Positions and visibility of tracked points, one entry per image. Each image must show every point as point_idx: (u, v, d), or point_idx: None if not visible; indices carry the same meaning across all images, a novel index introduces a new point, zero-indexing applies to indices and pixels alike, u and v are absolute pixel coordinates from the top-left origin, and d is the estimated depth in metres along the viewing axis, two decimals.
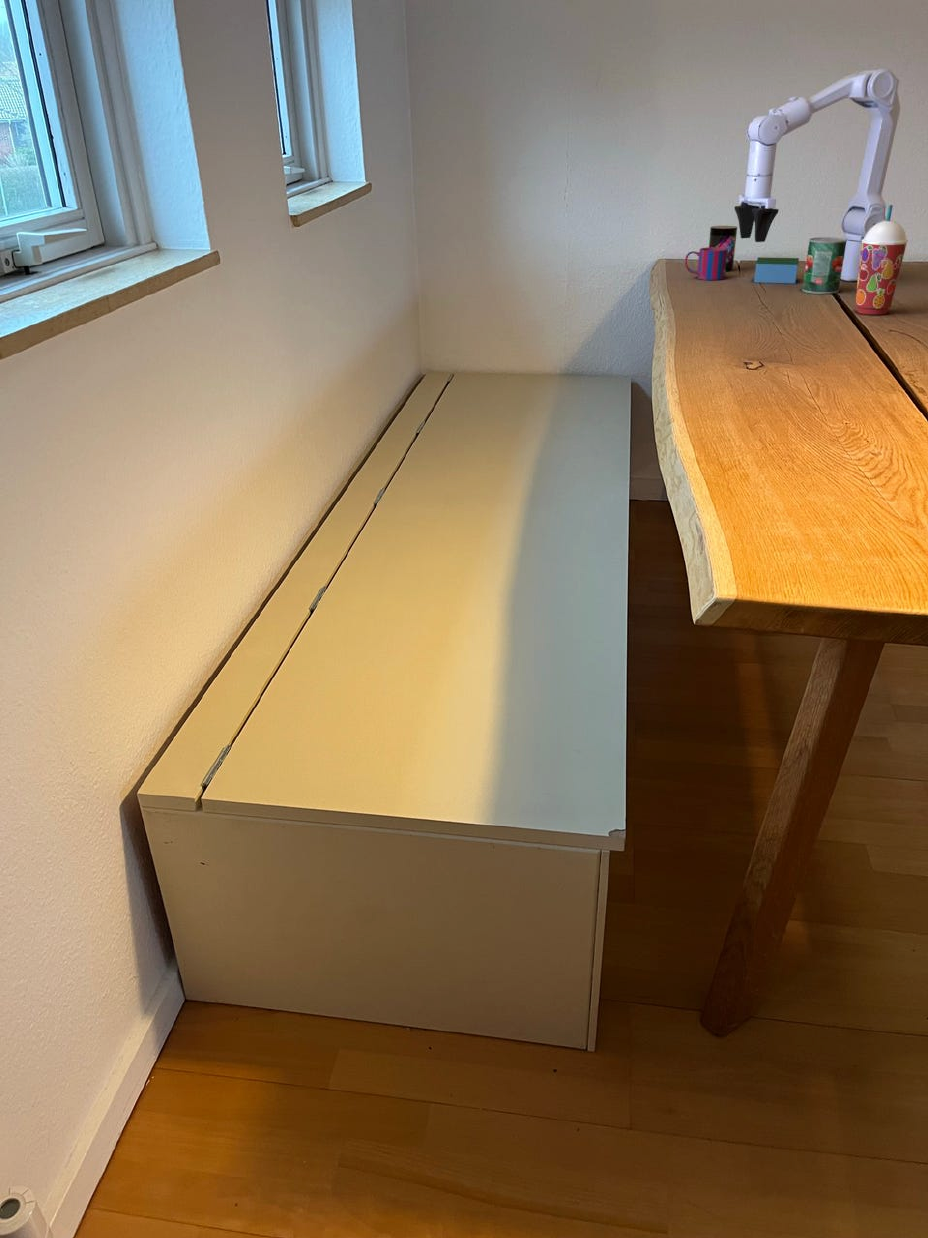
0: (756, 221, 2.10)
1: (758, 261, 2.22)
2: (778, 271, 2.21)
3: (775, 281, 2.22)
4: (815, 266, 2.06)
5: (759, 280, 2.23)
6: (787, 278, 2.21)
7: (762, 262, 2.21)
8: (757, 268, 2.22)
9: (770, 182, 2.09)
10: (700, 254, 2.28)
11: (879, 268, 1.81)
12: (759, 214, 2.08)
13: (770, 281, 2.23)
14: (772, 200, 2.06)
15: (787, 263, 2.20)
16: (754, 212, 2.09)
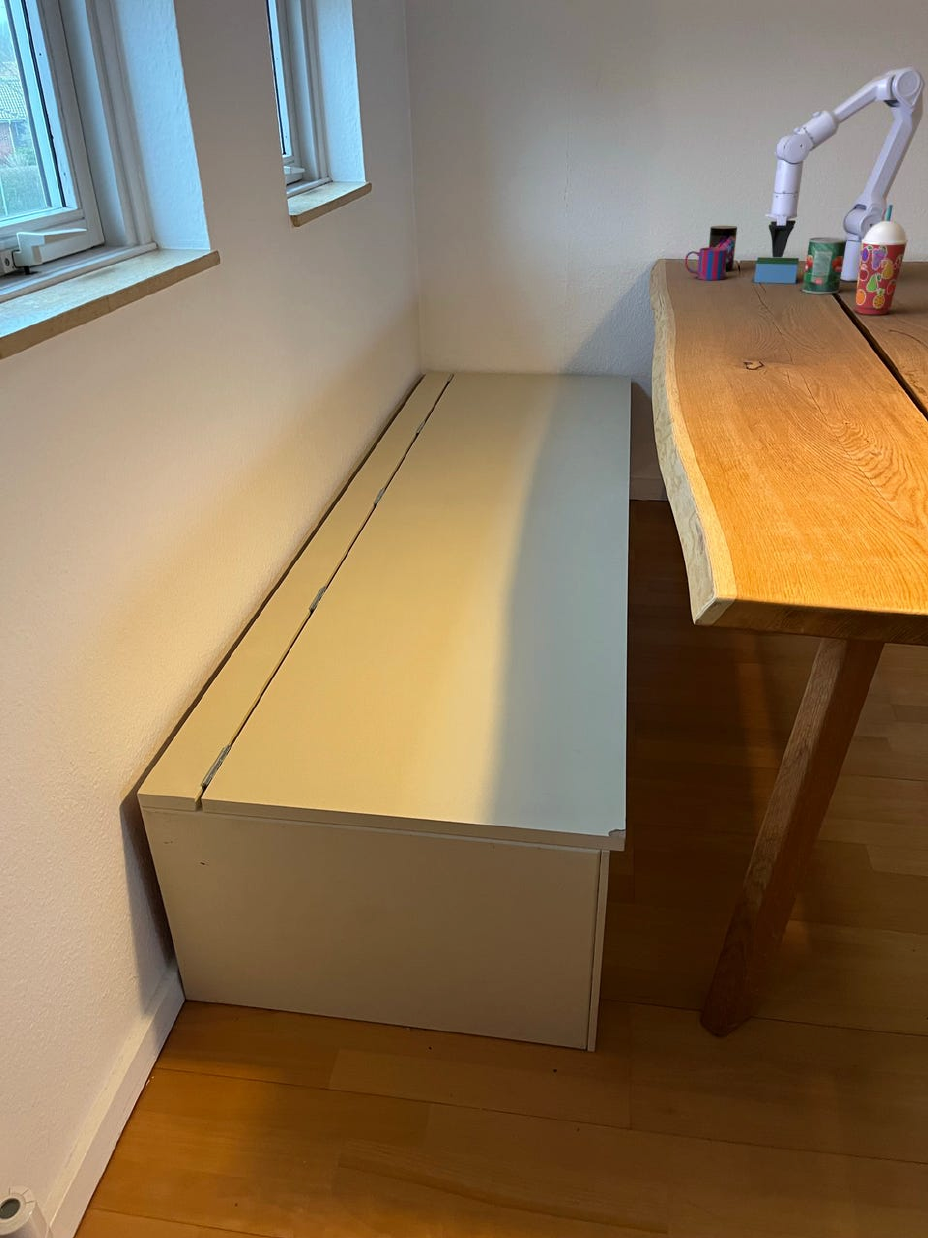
0: None
1: (758, 261, 2.22)
2: (778, 271, 2.21)
3: (775, 281, 2.22)
4: (815, 266, 2.06)
5: (759, 280, 2.23)
6: (787, 278, 2.21)
7: (762, 262, 2.21)
8: (757, 268, 2.22)
9: (792, 200, 2.14)
10: (700, 254, 2.28)
11: (879, 268, 1.81)
12: (772, 230, 2.15)
13: (770, 281, 2.23)
14: (782, 217, 2.12)
15: (787, 263, 2.20)
16: None
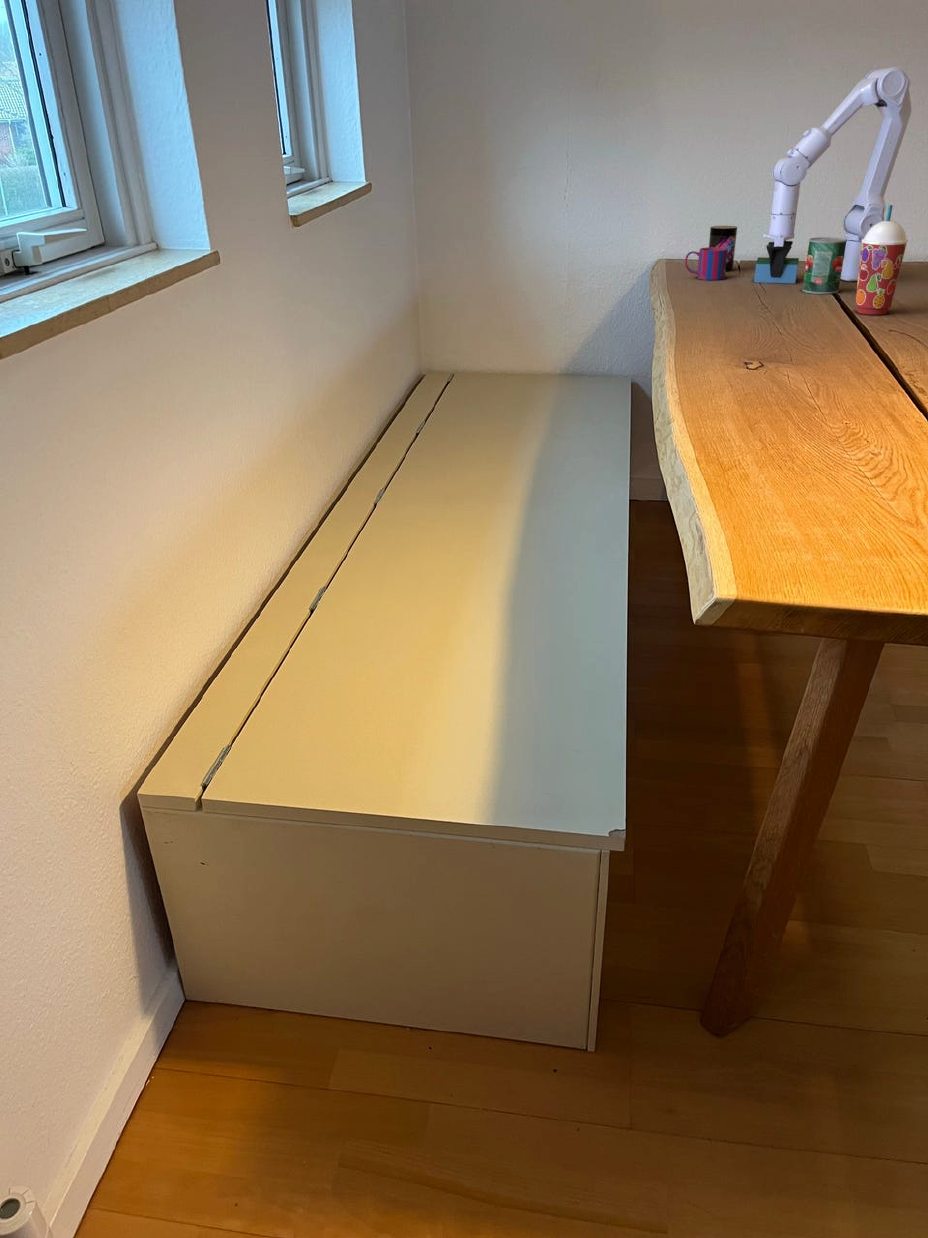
0: (769, 257, 2.20)
1: (758, 261, 2.22)
2: None
3: (775, 281, 2.22)
4: (815, 266, 2.06)
5: (759, 280, 2.23)
6: (787, 278, 2.21)
7: (762, 262, 2.21)
8: (757, 268, 2.22)
9: (789, 221, 2.16)
10: (700, 254, 2.28)
11: (879, 268, 1.81)
12: (770, 251, 2.18)
13: (770, 281, 2.23)
14: (779, 239, 2.14)
15: (787, 263, 2.20)
16: (767, 248, 2.19)
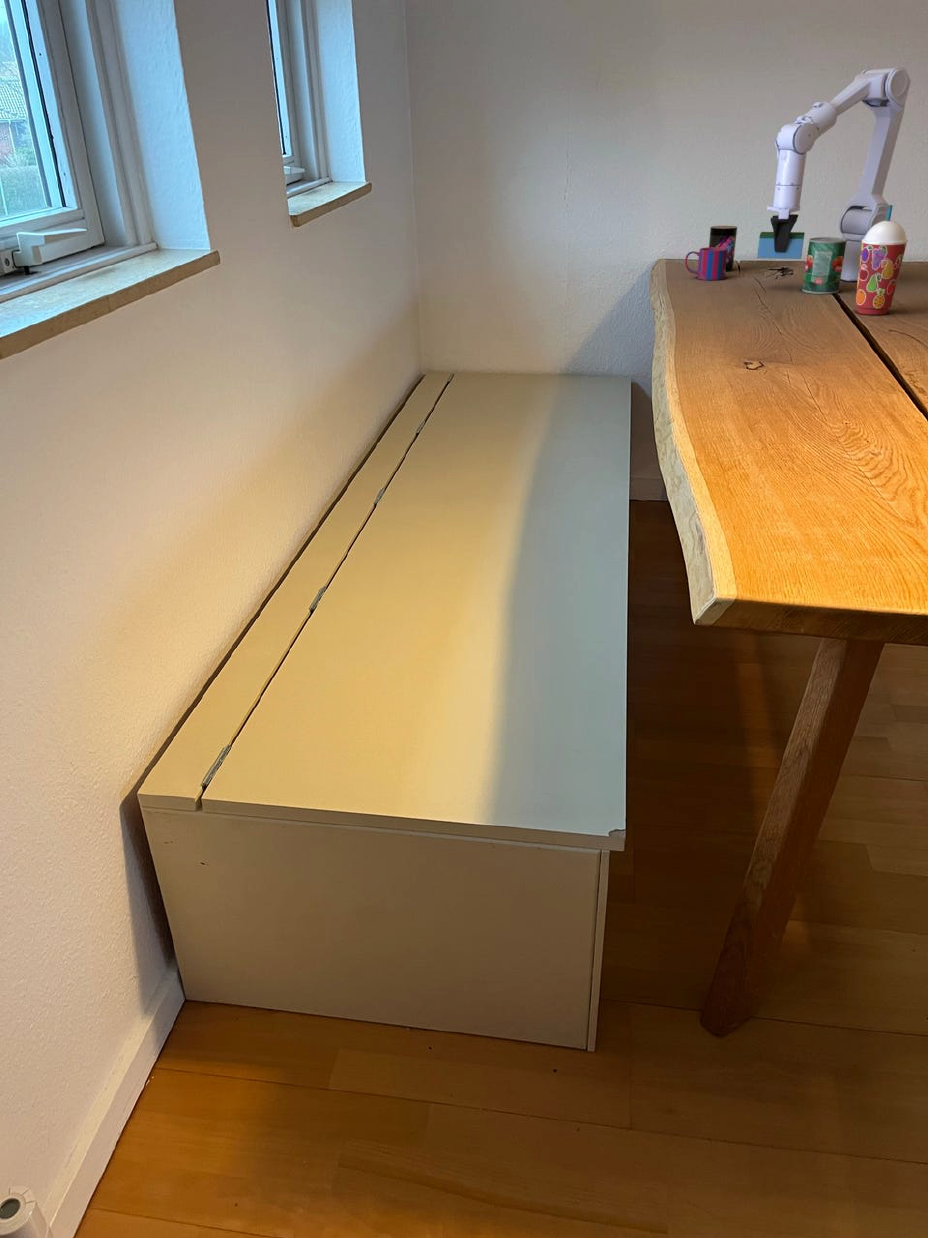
0: (773, 231, 2.07)
1: (761, 235, 2.09)
2: None
3: (779, 256, 2.10)
4: (815, 266, 2.06)
5: (762, 256, 2.11)
6: (792, 253, 2.09)
7: (765, 236, 2.09)
8: (760, 243, 2.10)
9: (795, 192, 2.04)
10: (700, 254, 2.28)
11: (879, 268, 1.81)
12: (774, 224, 2.05)
13: (774, 256, 2.10)
14: (784, 210, 2.02)
15: (792, 237, 2.07)
16: (771, 221, 2.06)
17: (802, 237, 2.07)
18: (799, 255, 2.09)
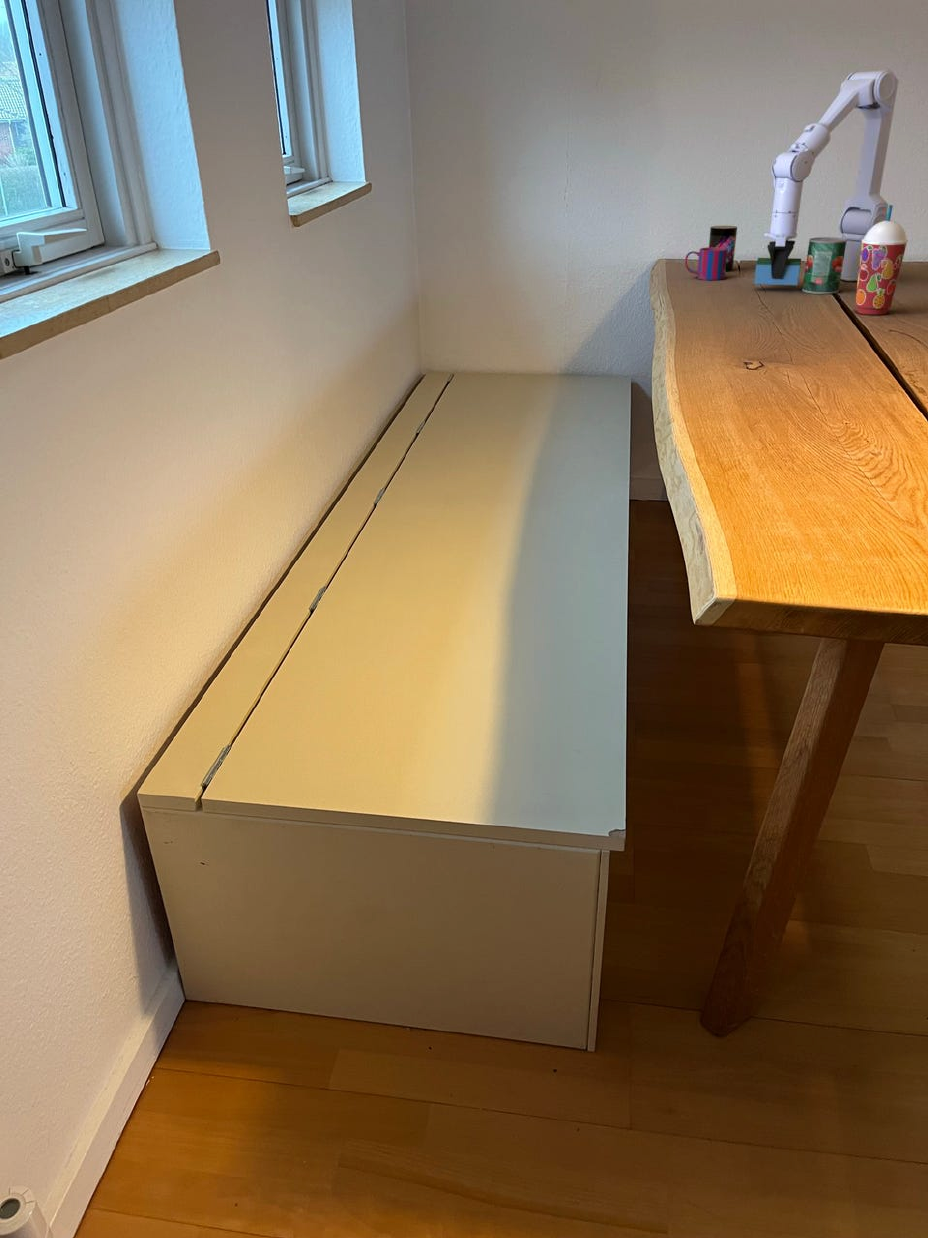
0: None
1: (758, 262, 2.10)
2: None
3: (776, 283, 2.11)
4: (815, 266, 2.06)
5: (759, 282, 2.12)
6: (789, 280, 2.10)
7: (762, 263, 2.10)
8: (757, 269, 2.11)
9: (791, 219, 2.05)
10: (700, 254, 2.28)
11: (879, 268, 1.81)
12: (771, 251, 2.07)
13: (771, 283, 2.12)
14: (781, 238, 2.03)
15: (789, 264, 2.09)
16: (768, 248, 2.07)
17: (799, 264, 2.08)
18: (796, 281, 2.10)
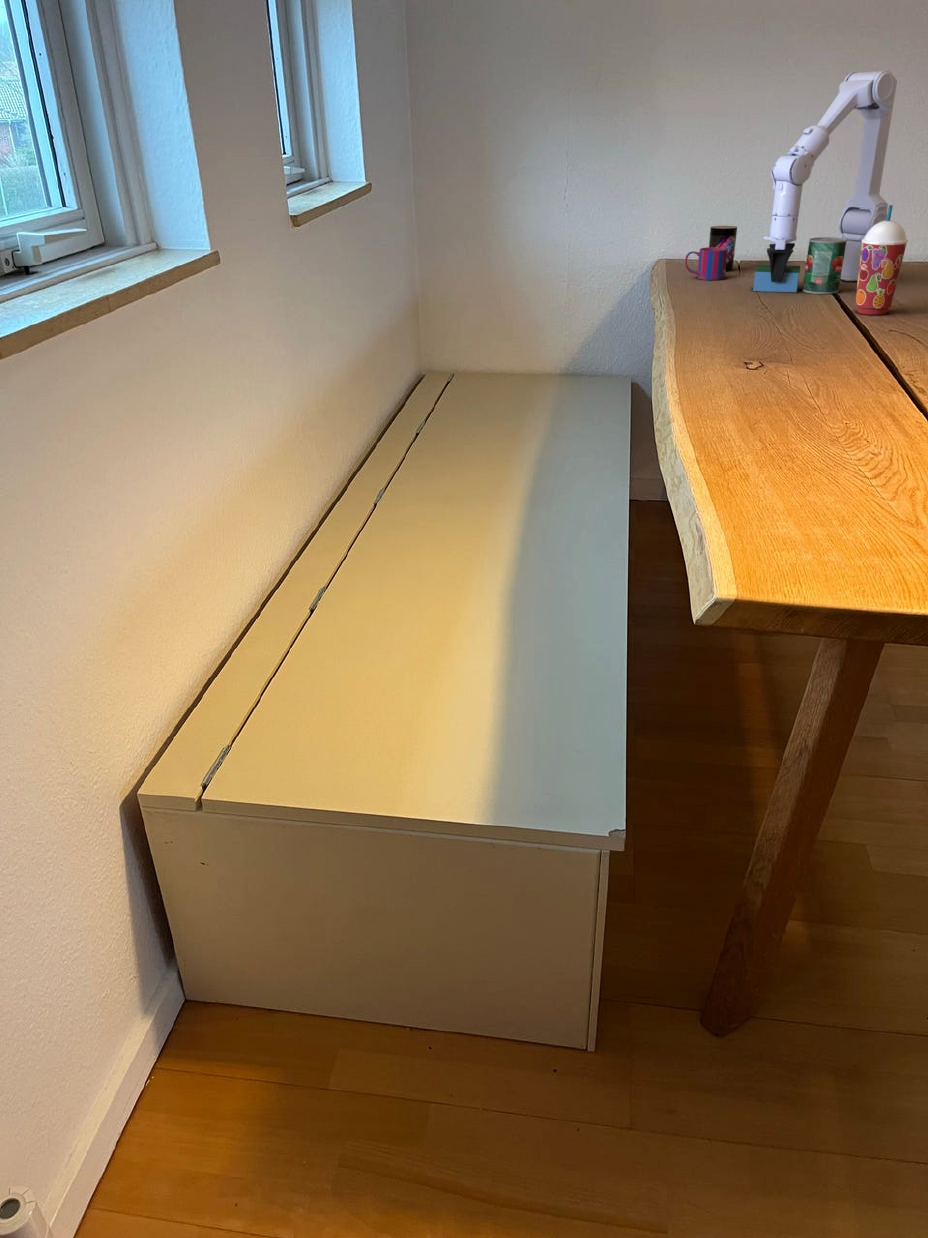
0: (770, 261, 2.08)
1: (757, 269, 2.11)
2: None
3: (775, 290, 2.12)
4: (815, 266, 2.06)
5: (758, 289, 2.13)
6: (788, 287, 2.11)
7: (762, 270, 2.11)
8: (756, 276, 2.12)
9: (791, 222, 2.05)
10: (700, 254, 2.28)
11: (879, 268, 1.81)
12: (771, 254, 2.06)
13: (770, 290, 2.12)
14: (781, 241, 2.03)
15: (788, 271, 2.09)
16: None
17: (798, 271, 2.09)
18: (795, 289, 2.10)
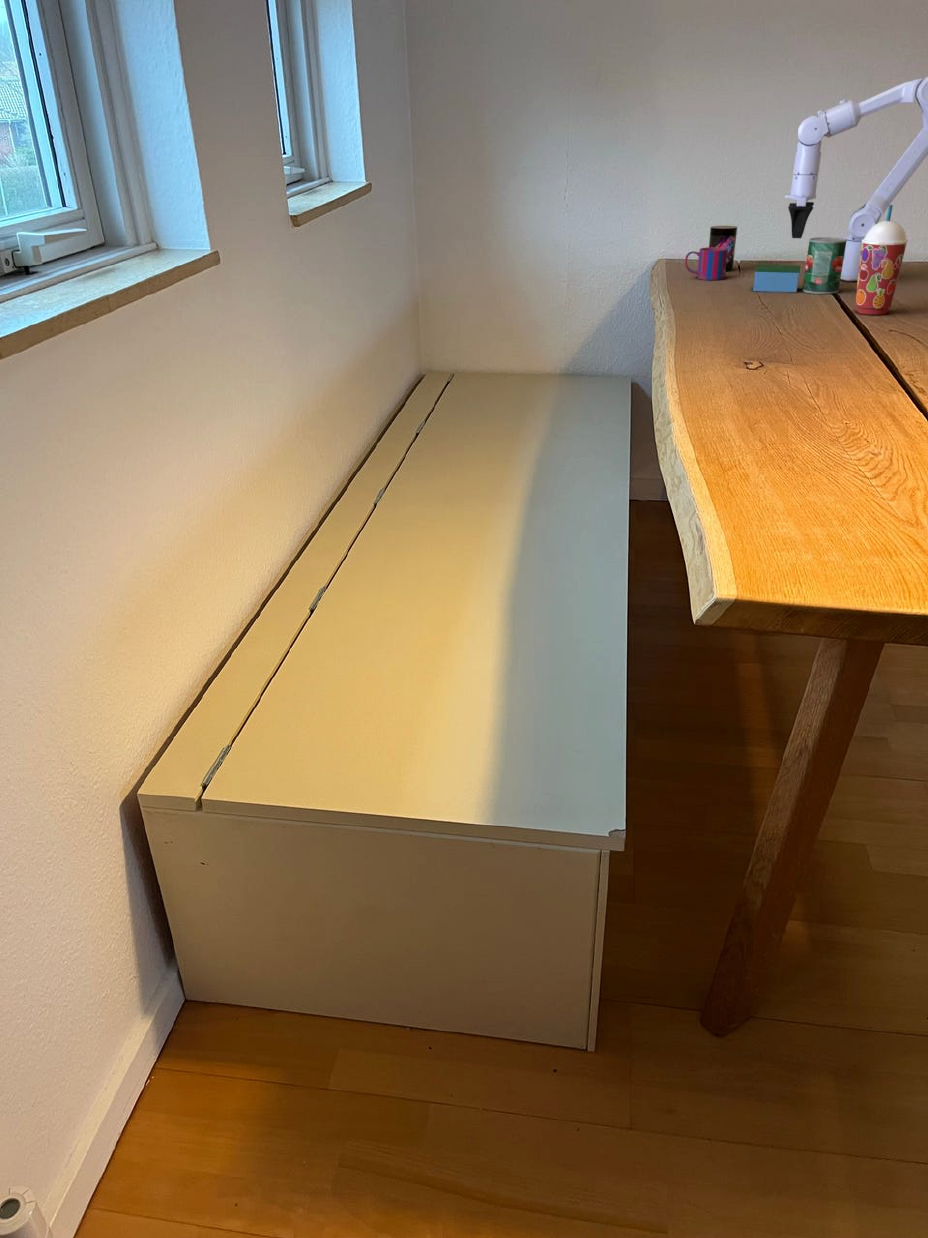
0: (791, 218, 2.20)
1: (757, 269, 2.11)
2: (778, 279, 2.11)
3: (775, 290, 2.12)
4: (815, 266, 2.06)
5: (758, 289, 2.13)
6: (788, 287, 2.11)
7: (762, 270, 2.11)
8: (756, 276, 2.12)
9: (811, 181, 2.17)
10: (700, 254, 2.28)
11: (879, 268, 1.81)
12: (792, 211, 2.18)
13: (770, 290, 2.12)
14: (802, 198, 2.15)
15: (788, 271, 2.09)
16: None
17: (798, 271, 2.09)
18: (795, 289, 2.10)
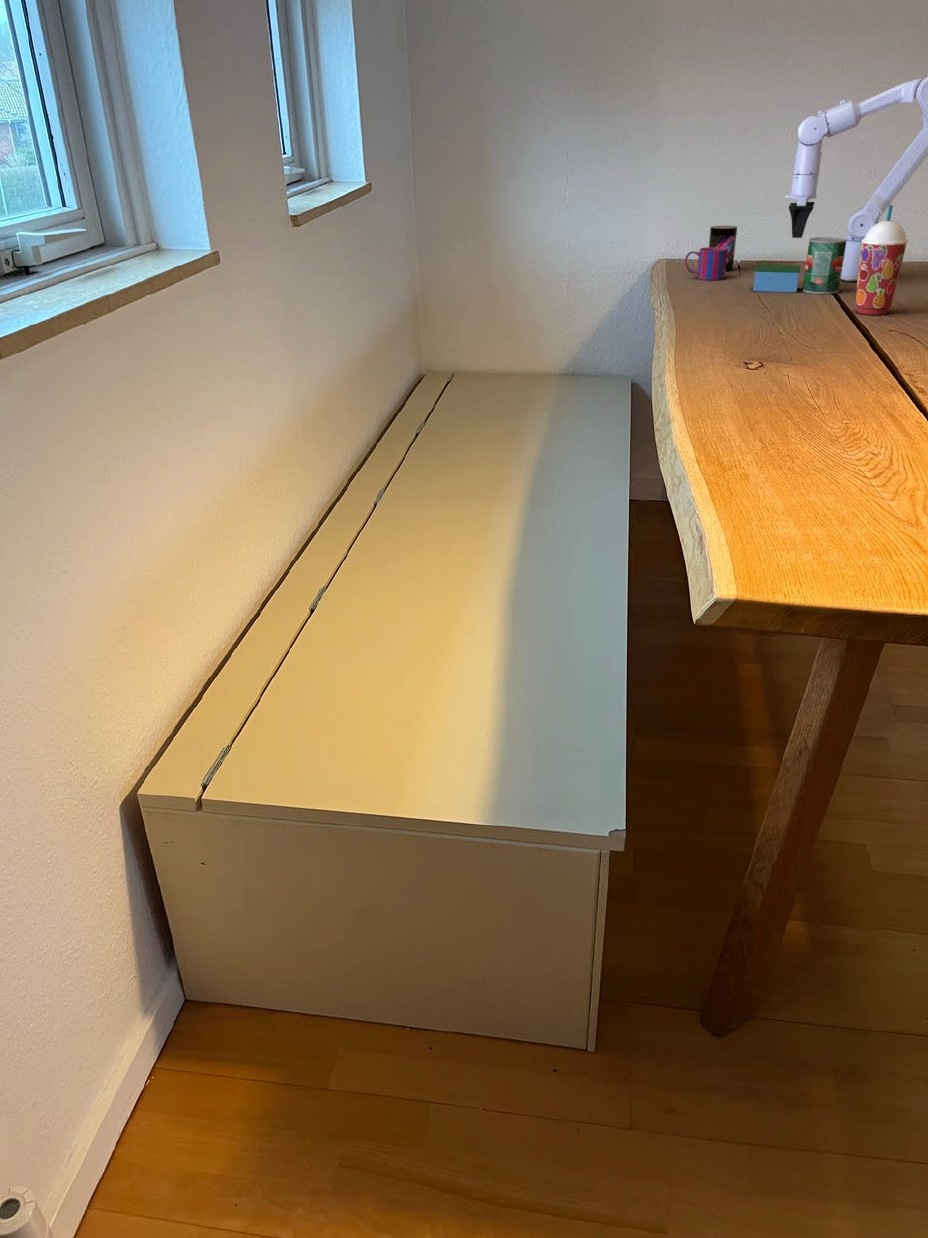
0: (791, 218, 2.20)
1: (757, 269, 2.11)
2: (778, 279, 2.11)
3: (775, 290, 2.12)
4: (815, 266, 2.06)
5: (758, 289, 2.13)
6: (788, 287, 2.11)
7: (762, 270, 2.11)
8: (756, 276, 2.12)
9: (812, 181, 2.17)
10: (700, 254, 2.28)
11: (879, 268, 1.81)
12: (792, 211, 2.19)
13: (770, 290, 2.12)
14: (802, 198, 2.15)
15: (788, 271, 2.09)
16: (789, 209, 2.20)
17: (798, 271, 2.09)
18: (795, 289, 2.10)
